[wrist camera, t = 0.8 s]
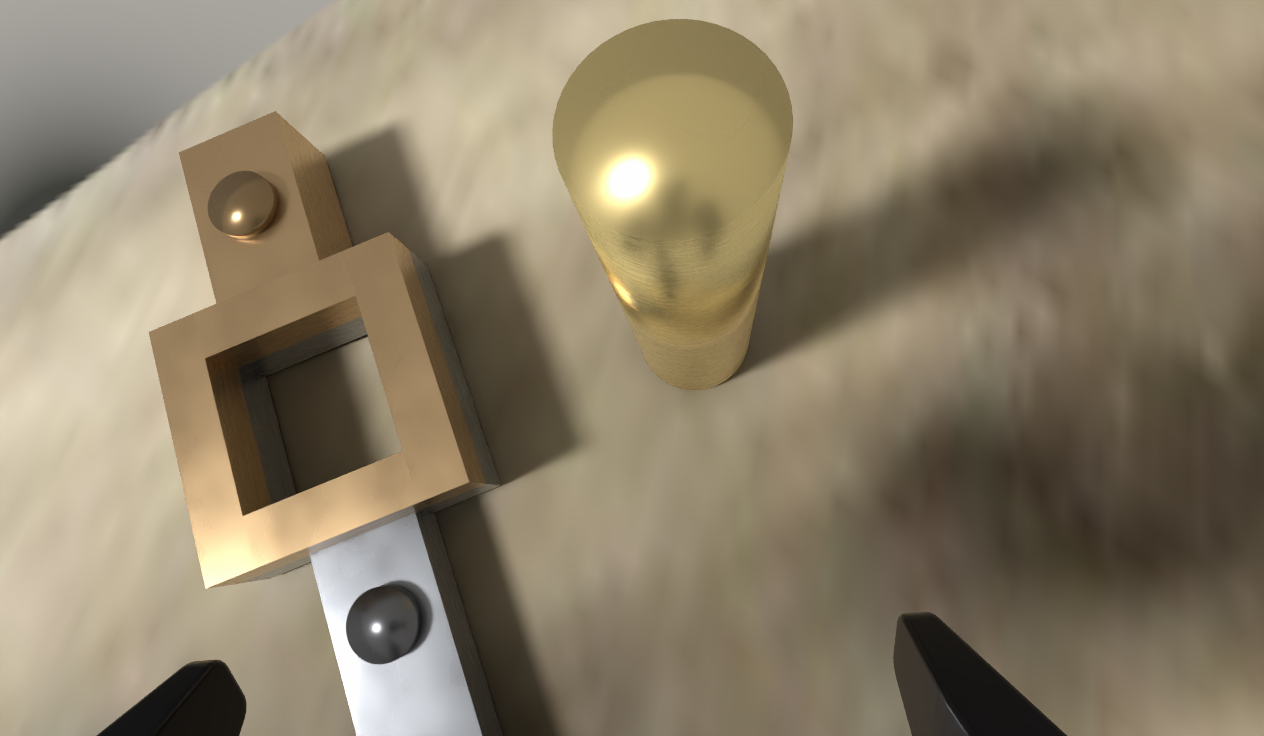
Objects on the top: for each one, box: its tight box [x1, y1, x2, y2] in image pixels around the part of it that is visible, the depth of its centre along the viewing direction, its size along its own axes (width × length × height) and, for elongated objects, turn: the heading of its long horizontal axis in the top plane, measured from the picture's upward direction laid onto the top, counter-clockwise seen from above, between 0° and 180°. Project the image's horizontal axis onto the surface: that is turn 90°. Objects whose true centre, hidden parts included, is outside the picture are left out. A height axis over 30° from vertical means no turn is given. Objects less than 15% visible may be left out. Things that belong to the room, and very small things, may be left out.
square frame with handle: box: [149, 111, 503, 736], centre depth 22 cm, size 24×8×3 cm, turn 21°
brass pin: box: [553, 19, 793, 390], centre depth 17 cm, size 4×4×13 cm
